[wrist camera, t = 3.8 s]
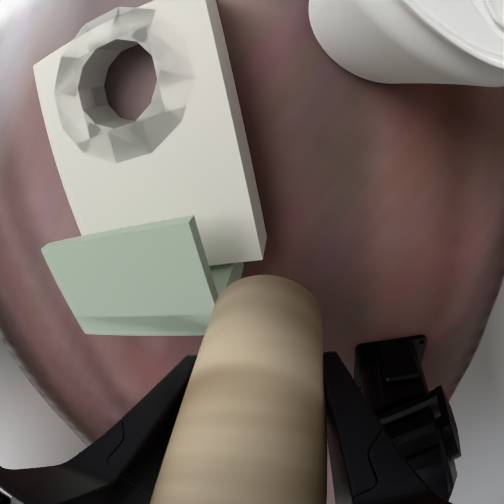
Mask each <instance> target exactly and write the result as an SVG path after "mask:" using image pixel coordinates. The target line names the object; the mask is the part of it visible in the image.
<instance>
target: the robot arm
mask: <svg viewBox="0 0 504 504" xmlns="http://www.w3.org/2000/svg"><path fill="white" fill-rule="evenodd" d="M426 342H427V339H426V336H425V335H417V336H411V337H405V338H399V339H393V340H386V341H379V342H372V343H364V344H359V345H357V346H356V348H355V369H354V379H353V378H352V376H351V374H350V373H349V371H348V370H347V368H346V366H345V365H344V363H343V362H342V360H341V358H340V357H339V355H338V354H337V353H336V352H335V351H333V352H324V353H323V362H324V384H325V395H326V409H327V439H328V447H329V454H330V462H331V470H332V478H333V486H334V495H335V503H336V504H452V503H450V502H448V501H449V498H450V496H451V493H452V490H453V487H454V484H455V481H456V478H457V471H456V467H455V462H454V460H455V459H457V458H459V457H460V456H461V450H460V444H459V437H458V430H457V426H456V423H455V419H454V416H453V413H452V409H451V406H450V404H449V402H448V400H447V397H446V395H445V393H444V390H443V388H442V386H441V385H440V386H438V387H436V388H435V389H434V390H432V391H430V392H429V391H428V387H427V384H426V380H425V377H424V374H423V370H422V367H421V362H422V358H423V354H424V350H425V346H426ZM360 349H362V350H360ZM197 356H198V355H187V356H186V357H185V358H184V359H183V360H182V361H181V362H180V363H179V364H177V365H176V366H175V367H174V368H173V369H172V370H171V371H170V372H169V373H168V374H167V375H166V376H165V377H164V378H163V379H162V380H161V381H160V382H159V383H158V384H157V385H156V386H155V387H154V388H153V389H152V390H151V391H150V392H149V393H148V394H147V395H146V396H145V397H144V398H143V399H142V400H140V401H139V402H138V403H137V404H136V405H135V406H134V407H133V408H132V409H131V410H130V411H129V412H128V413H127V414H126V415H125V416H124V417H123V418H122V420H119V421H118V422H117V423H116V424H115V425H114V426H113V427H112V428H111V429H110V430H108V431H107V432H106V433H105V434H104V435H103V436H101V437H100V438H99V439H98V440H96V441H95V442H94V443H93V444H91V445H90V446H88V447H87V448H86V449H84V450H83V451H82V452H80V453H79V454H78V455H76V456H75V457H73V458H72V459H71V460H69V461H67V462H65V463H63V464H60V465H56V466H48V467H40V468H29V469H17V470H11V469H5V468H2V467H1V466H0V488H2V489H3V490H4V491H6V492H7V493H8V494H10V495H11V496H12V498H10V497H9V496H7V495H6V494H4V493H3V492H1V491H0V504H150V501H151V498H152V494H153V491H154V488H155V485H156V481H157V478H158V475H159V472H160V469H161V466H162V462H163V459H164V456H165V453H166V450H167V447H168V444H169V441H170V437H171V434H172V431H173V428H174V425H175V422H176V419H177V416H178V413H179V410H180V407H181V404H182V401H183V398H184V395H185V392H186V389H187V386H188V383H189V380H190V377H191V374H192V371H193V368H194V365H195V362H196V359H197ZM361 391H362V392H361Z"/></svg>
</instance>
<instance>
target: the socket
mask: <svg viewBox="0 0 504 504" xmlns="http://www.w3.org/2000/svg"><path fill="white" fill-rule="evenodd" d="M138 44H140V45H141V46H142V47H143V48H144V49H145V50H146V51H147V52H148V53H149V54H150V55H151V56H152V58H153V62H154V67H155V71H156V75H157V83H156V86H155V90H154V93H153V97H152V101H151V104H150V105H149V106H148V107H147V108H146V110H145V111H144V112H143V113H142V114H141V115H140V116H139V118H138V119H137V120H136V121H132V120H128V119H124V118H120V116H119V115H118V114H117V113H116V112H115V111H114V110H113V109H112V108H111V107H110V106H109V105H108V101H107V97H106V93H105V89H104V84H105V80H106V75H107V71H108V67H109V66H110V65H111V63H112V62H113V61H114V60H115V58H116V57H117V56H118V55H119V54H120V53H121V51H123V50H126V49H128V48H130V47H133V46H135V45H138ZM33 68H34V74H35V80H36V85H37V90H38V95H39V100H40V104H41V109H42V113H43V117H44V121H45V125H46V129H47V133H48V137H49V141H50V144H51V148H52V151H53V155H54V158H55V161H56V165H57V168H58V171H59V174H60V177H61V180H62V183H63V186H64V189H65V192H66V195H67V198H68V201H69V203H70V206H71V209H72V211H73V214H74V217H75V219H76V222H77V225H78V227H79V230H80V232H81V235H82V236H84V235H89V234H94V233H99V232H104V231H109V230H114V229H119V228H124V227H130V226H135V225H140V224H146V223H151V222H157V221H163V220H169V219H174V218H180V217H186V216H192V215H194V217H195V220H196V224H197V227H198V231H199V234H200V238H201V241H202V244H203V248H204V251H205V254H206V258H207V261H208V264H209V266H211V265H220V264H229V263H239V262H248V261H257V260H263V255H264V250H265V245H266V240H267V234H266V229H265V224H264V219H263V214H262V209H261V204H260V199H259V195H258V190H257V185H256V180H255V175H254V170H253V165H252V161H251V156H250V151H249V146H248V142H247V137H246V132H245V128H244V123H243V118H242V114H241V109H240V104H239V100H238V95H237V91H236V86H235V82H234V77H233V73H232V68H231V64H230V59H229V55H228V50H227V46H226V42H225V37H224V33H223V29H222V24H221V20H220V16H219V11H218V7H217V3H216V0H155V1H152V2H150V3H147V4H145V5H142V6H140V7H137V8H130V7H118V8H115V9H113V10H111V11H109V12H107V13H105V14H103V15H101V16H100V17H98V18H96V19H94V20H92V21H90V22H88V23H87V24H85V25H84V26H83V27H82V28H81V30H80V31H79V32H78V34H77V35H76V36H75V38H74V39H73V40H72V41H71V42H69V43H67V44H66V45H64V46H62V47H61V48H59V49H58V50H56V51H54V52H53V53H51V54H50V55H48V56H47V57H45V58H44V59H42V60H41V61H39V62H38V63H37V64H35V65H34V66H33Z"/></svg>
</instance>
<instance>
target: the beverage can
mask: <svg viewBox="0 0 504 504" xmlns="http://www.w3.org/2000/svg"><path fill="white" fill-rule="evenodd" d="M309 19H310V24H311V27H312V30H313V32H314V35H315V37H316V39H317V40H318V42H319V44H320V45H321V47H322V48H323V49H324V51H325V52H326V53H327V54H328V55H329V56H330V57H331V58H332V59H333V60H334V61H335V62H336V63H337V64H339V65H340V66H341V67H343V68H344V69H346V70H347V71H349V72H351V73H352V74H354V75H356V76H359V77H361V78H364V79H366V80H370V81H373V82H378V83H388V84H397V83H433V84H458V85H473V86H484V87H503V86H504V0H309Z"/></svg>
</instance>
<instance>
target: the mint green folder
mask: <svg viewBox="0 0 504 504" xmlns="http://www.w3.org/2000/svg"><path fill="white" fill-rule="evenodd" d="M41 251H42V253H43V256H44V258H45V260H46V262H47V264H48V266H49V268H50V270H51V272H52V274H53V276H54V278H55V280H56V282H57V284H58V286H59V288H60V290H61V292H62V294H63V296H64V298H65V299H66V301H67V303H68V305H69V307H70V309H71V310H72V312H73V314H74V316H75V317H76V319H77V321H78V322H79V324H80V326H81V328H82V329H83V331H84V333H85V334H100V335H137V336H183V335H205V332H206V329H207V326H208V323H209V320H210V318H211V315H212V312H213V309H214V306H215V303H216V300H217V298H218V296H219V295H220V294H221V292H222V291H223V290H224V289H225V288H226V287H227V286H229V285H230V284H231V283H233V282H235V281H237V280H239V279H241V275H242V272H243V268H244V263H243V262H239V263H229V264H220V265H211V266H209V264H208V261H207V258H206V254H205V251H204V248H203V244H202V241H201V238H200V234H199V231H198V227H197V224H196V220H195V217H194V215H192V216H186V217H180V218H174V219H169V220H163V221H157V222H151V223H146V224H140V225H135V226H130V227H124V228H119V229H114V230H109V231H104V232H99V233H94V234H89V235H84V236H79V237H74V238H69V239H65V240H60V241H56V242H51V243H48V244H47V245H45V246H44V247H43V248H42V249H41Z"/></svg>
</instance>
